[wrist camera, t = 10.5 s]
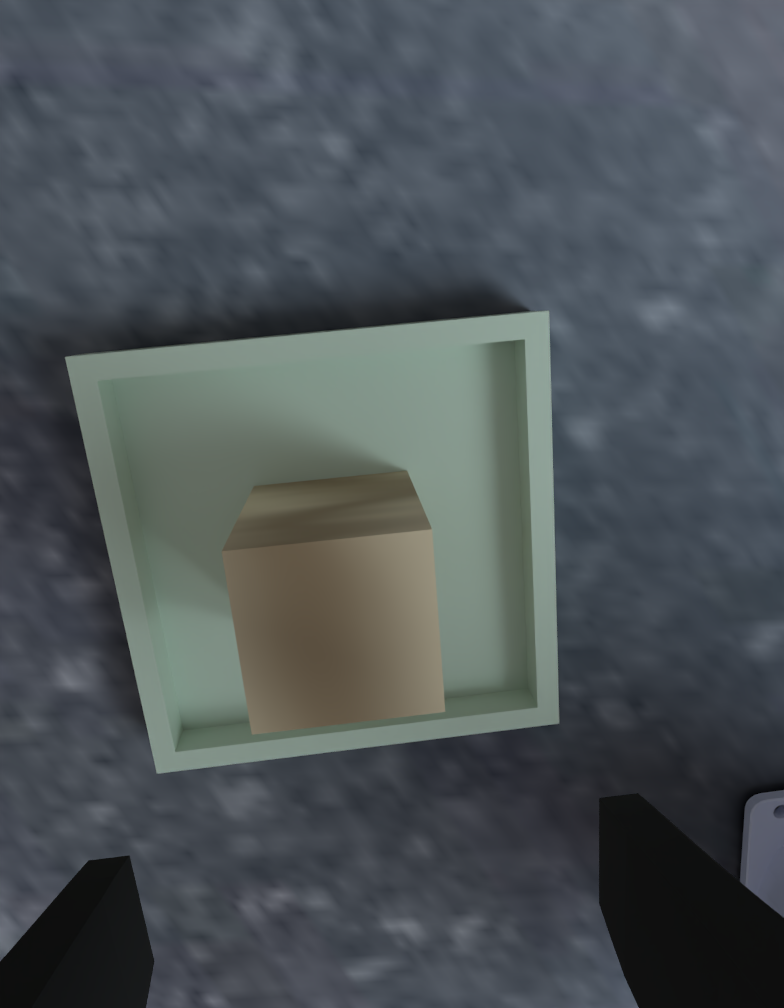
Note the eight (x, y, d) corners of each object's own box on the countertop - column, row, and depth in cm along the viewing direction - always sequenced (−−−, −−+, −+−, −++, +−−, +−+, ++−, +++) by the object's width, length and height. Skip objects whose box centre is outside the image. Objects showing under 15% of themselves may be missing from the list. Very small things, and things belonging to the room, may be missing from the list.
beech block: (407, 470, 18) (432, 529, 13) (418, 610, 19) (445, 711, 14) (253, 486, 18) (221, 551, 13) (274, 625, 19) (251, 734, 14)
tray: (531, 310, 17) (549, 310, 16) (543, 694, 20) (559, 723, 19) (88, 353, 17) (65, 357, 15) (170, 740, 20) (156, 773, 18)
